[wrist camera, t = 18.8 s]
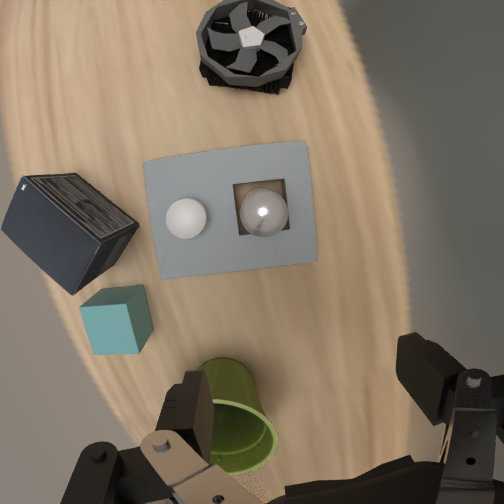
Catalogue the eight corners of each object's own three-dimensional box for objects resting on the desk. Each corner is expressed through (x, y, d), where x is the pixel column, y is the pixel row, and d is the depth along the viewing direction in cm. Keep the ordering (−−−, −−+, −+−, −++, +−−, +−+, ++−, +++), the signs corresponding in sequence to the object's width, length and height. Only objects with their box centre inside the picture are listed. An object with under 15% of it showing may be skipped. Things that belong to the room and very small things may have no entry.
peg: (279, 218, 34) (291, 233, 24) (245, 224, 34) (244, 241, 24) (274, 185, 33) (284, 185, 24) (239, 190, 33) (235, 193, 24)
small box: (50, 216, 33) (-4, 230, 23) (75, 170, 32) (21, 170, 22) (113, 269, 35) (70, 300, 25) (141, 223, 34) (102, 241, 24)
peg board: (311, 254, 35) (323, 267, 30) (167, 271, 35) (154, 287, 30) (300, 143, 32) (311, 137, 27) (151, 163, 32) (134, 160, 27)
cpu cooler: (185, 72, 26) (207, -12, 23) (195, 88, 31) (212, 13, 29) (298, 88, 26) (311, 2, 24) (290, 102, 32) (302, 25, 30)
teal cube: (143, 284, 35) (126, 303, 29) (153, 329, 37) (139, 353, 31) (101, 289, 35) (79, 307, 29) (112, 331, 37) (93, 354, 31)
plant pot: (162, 352, 37) (138, 408, 26) (256, 330, 37) (261, 387, 26) (195, 421, 40) (185, 481, 29) (279, 405, 39) (288, 466, 28)
